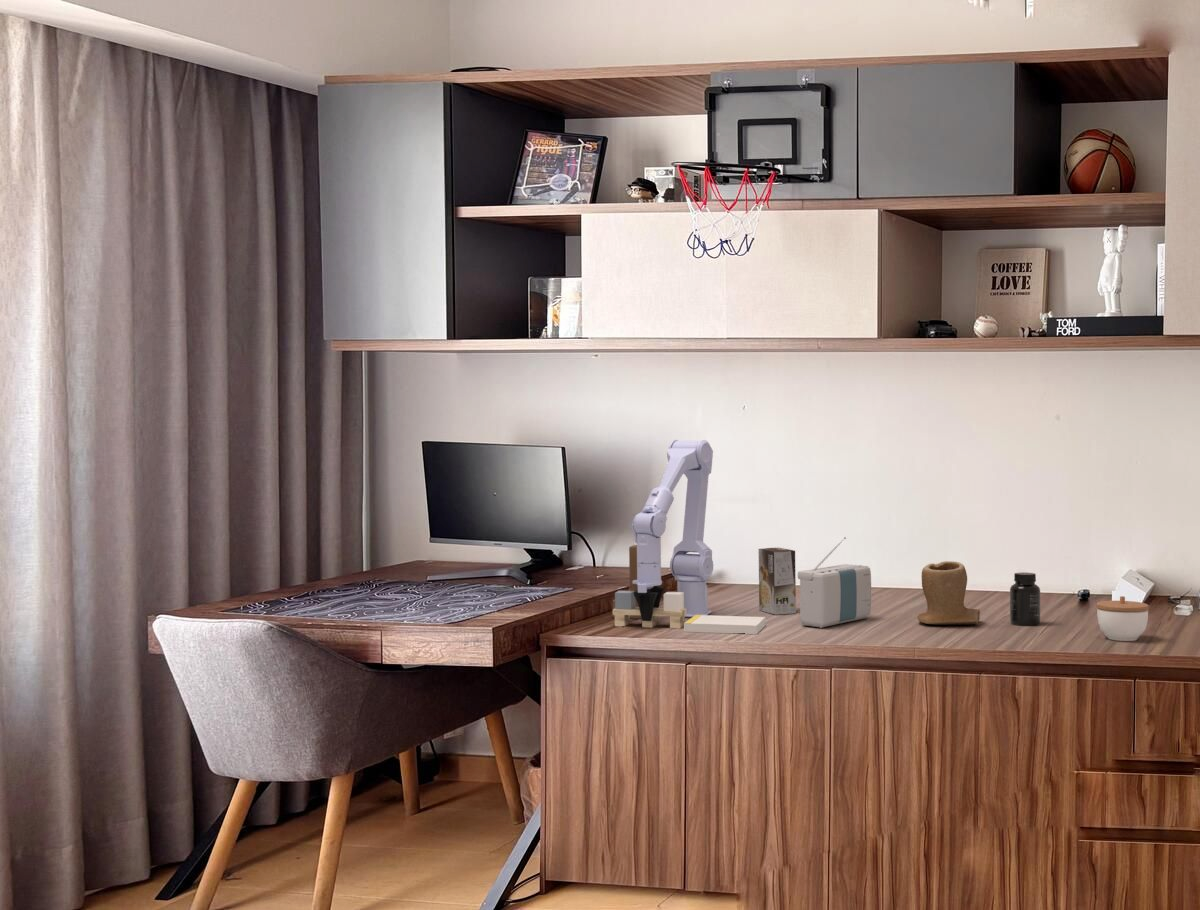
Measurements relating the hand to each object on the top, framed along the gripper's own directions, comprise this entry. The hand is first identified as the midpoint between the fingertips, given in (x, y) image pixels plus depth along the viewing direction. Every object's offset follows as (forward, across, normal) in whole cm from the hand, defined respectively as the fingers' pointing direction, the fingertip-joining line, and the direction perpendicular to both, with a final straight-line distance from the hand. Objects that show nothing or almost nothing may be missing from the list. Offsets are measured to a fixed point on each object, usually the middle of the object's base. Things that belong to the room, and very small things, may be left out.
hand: (649, 619), depth 320 cm
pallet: (+2, 0, 0) cm, 2 cm away
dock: (+2, 0, +18) cm, 19 cm away
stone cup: (+2, -16, +70) cm, 71 cm away
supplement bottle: (+2, -21, +86) cm, 89 cm away
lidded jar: (+2, -4, +106) cm, 107 cm away
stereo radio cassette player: (+2, -14, +42) cm, 45 cm away
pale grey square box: (-2, 0, -6) cm, 6 cm away
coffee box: (+2, -28, +26) cm, 39 cm away
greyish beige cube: (-2, 0, +6) cm, 6 cm away
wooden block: (+2, -12, -8) cm, 14 cm away
